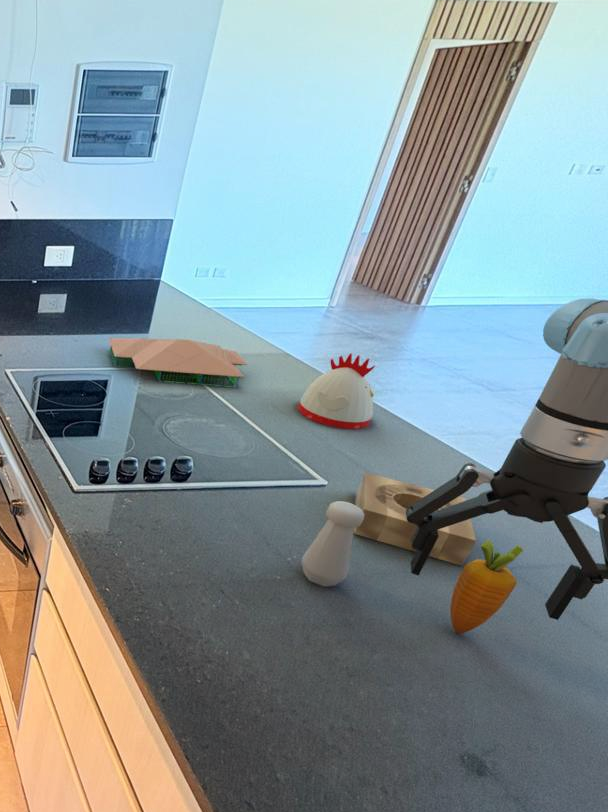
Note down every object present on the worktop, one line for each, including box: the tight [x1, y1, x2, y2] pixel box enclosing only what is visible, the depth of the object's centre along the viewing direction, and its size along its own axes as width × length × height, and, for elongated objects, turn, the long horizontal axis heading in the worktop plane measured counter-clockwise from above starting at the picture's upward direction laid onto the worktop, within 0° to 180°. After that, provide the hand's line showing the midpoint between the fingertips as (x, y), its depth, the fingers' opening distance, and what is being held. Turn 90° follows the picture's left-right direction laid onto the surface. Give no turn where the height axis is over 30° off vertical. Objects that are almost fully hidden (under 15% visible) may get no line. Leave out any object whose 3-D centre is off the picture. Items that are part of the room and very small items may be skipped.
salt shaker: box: [301, 500, 364, 588], centre depth 90 cm, size 6×6×13 cm
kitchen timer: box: [297, 352, 376, 430], centre depth 139 cm, size 14×14×15 cm
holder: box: [353, 472, 477, 567], centre depth 103 cm, size 14×14×5 cm
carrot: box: [449, 539, 524, 635], centre depth 80 cm, size 5×5×15 cm
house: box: [108, 337, 248, 388], centre depth 167 cm, size 23×33×8 cm
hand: (479, 589), depth 80 cm, fingers open, 13 cm apart
